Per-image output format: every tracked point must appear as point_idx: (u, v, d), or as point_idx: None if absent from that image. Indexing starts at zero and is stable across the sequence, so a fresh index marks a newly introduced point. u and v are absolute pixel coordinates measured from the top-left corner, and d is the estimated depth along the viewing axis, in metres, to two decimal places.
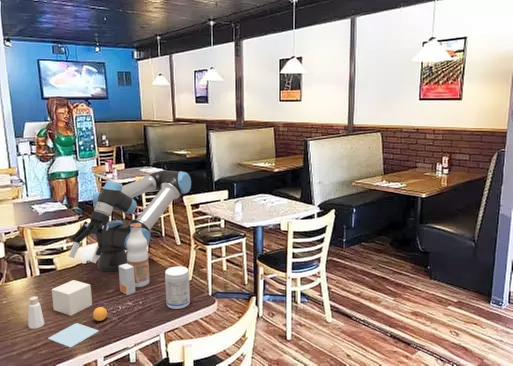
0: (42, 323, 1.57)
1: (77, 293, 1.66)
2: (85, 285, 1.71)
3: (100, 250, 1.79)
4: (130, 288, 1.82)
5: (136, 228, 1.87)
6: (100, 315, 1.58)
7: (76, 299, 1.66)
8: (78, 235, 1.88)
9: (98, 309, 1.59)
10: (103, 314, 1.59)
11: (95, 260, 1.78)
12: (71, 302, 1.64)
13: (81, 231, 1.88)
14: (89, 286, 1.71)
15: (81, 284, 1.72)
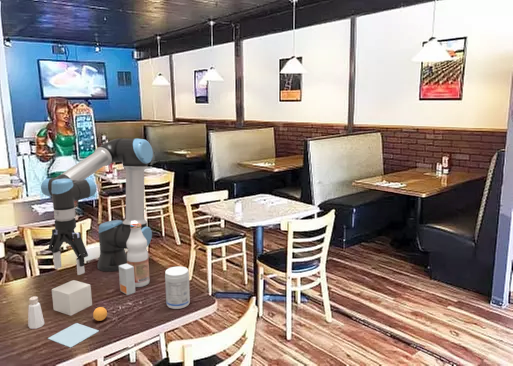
0: (42, 323, 1.57)
1: (77, 293, 1.66)
2: (85, 285, 1.71)
3: (82, 261, 1.63)
4: (130, 288, 1.82)
5: (136, 228, 1.87)
6: (100, 315, 1.58)
7: (76, 299, 1.66)
8: (53, 244, 1.70)
9: (98, 309, 1.59)
10: (103, 314, 1.59)
11: (82, 270, 1.65)
12: (71, 302, 1.64)
13: (54, 240, 1.69)
14: (89, 286, 1.71)
15: (81, 284, 1.72)
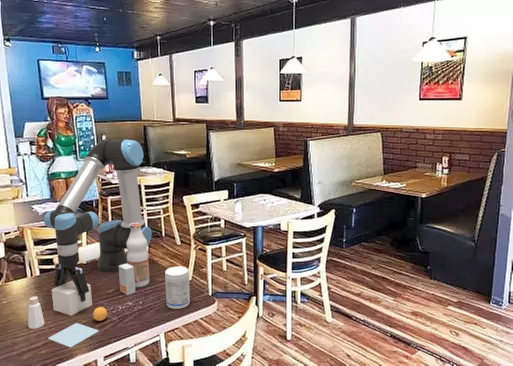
0: (42, 323, 1.57)
1: (77, 293, 1.66)
2: None
3: (83, 296, 1.67)
4: (130, 288, 1.82)
5: (136, 228, 1.87)
6: (100, 315, 1.58)
7: (76, 299, 1.66)
8: (59, 279, 1.72)
9: (98, 309, 1.59)
10: (103, 314, 1.59)
11: (83, 305, 1.69)
12: (71, 302, 1.64)
13: (59, 274, 1.71)
14: (89, 286, 1.71)
15: None
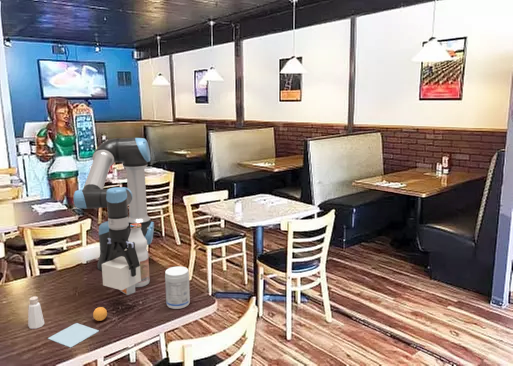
0: (42, 323, 1.57)
1: (128, 267, 1.64)
2: None
3: (134, 271, 1.65)
4: (130, 288, 1.82)
5: (136, 228, 1.87)
6: (100, 315, 1.58)
7: (127, 274, 1.64)
8: (107, 254, 1.70)
9: (98, 309, 1.59)
10: (103, 314, 1.59)
11: (134, 280, 1.67)
12: (122, 276, 1.62)
13: (108, 250, 1.70)
14: None
15: None
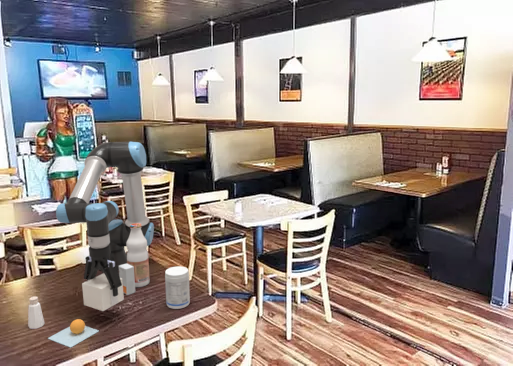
0: (42, 323, 1.57)
1: (109, 287, 1.57)
2: None
3: (116, 290, 1.58)
4: (130, 288, 1.82)
5: (136, 228, 1.87)
6: (84, 323, 1.52)
7: (108, 294, 1.57)
8: (88, 272, 1.63)
9: None
10: (83, 326, 1.51)
11: (116, 300, 1.60)
12: (103, 297, 1.55)
13: (89, 267, 1.62)
14: (121, 280, 1.62)
15: None
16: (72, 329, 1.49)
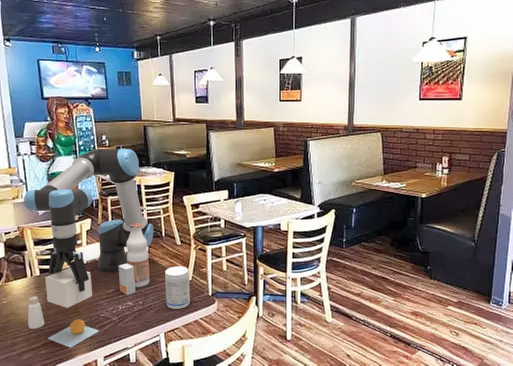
0: (42, 323, 1.57)
1: (75, 281, 1.43)
2: None
3: (82, 285, 1.44)
4: (130, 288, 1.82)
5: (136, 228, 1.87)
6: (83, 323, 1.52)
7: (74, 288, 1.43)
8: (54, 265, 1.49)
9: None
10: (83, 326, 1.51)
11: (82, 296, 1.45)
12: (68, 292, 1.41)
13: (54, 260, 1.48)
14: (89, 274, 1.48)
15: None
16: (72, 329, 1.49)
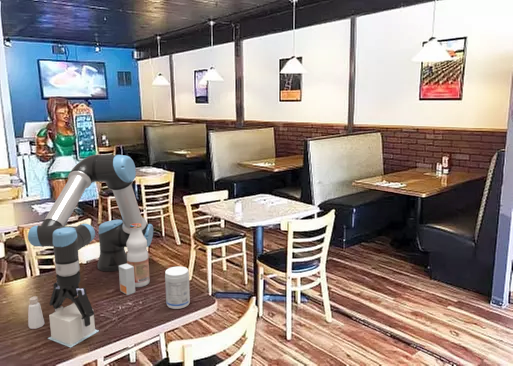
0: (42, 323, 1.57)
1: (78, 319, 1.46)
2: None
3: (88, 320, 1.45)
4: (130, 288, 1.82)
5: (136, 228, 1.87)
6: None
7: (77, 326, 1.45)
8: (55, 298, 1.52)
9: None
10: None
11: (88, 330, 1.47)
12: (71, 330, 1.43)
13: (56, 294, 1.51)
14: None
15: None
16: None
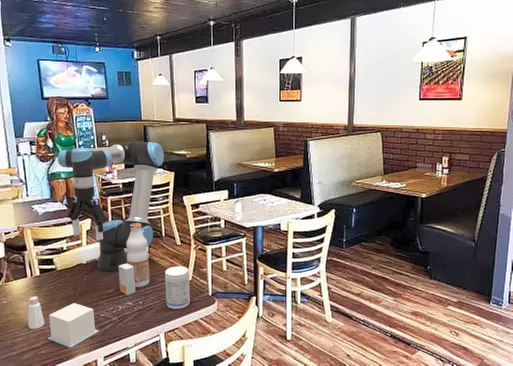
0: (42, 323, 1.57)
1: (78, 319, 1.46)
2: (87, 310, 1.50)
3: (101, 227, 1.70)
4: (130, 288, 1.82)
5: (136, 228, 1.87)
6: None
7: (77, 326, 1.45)
8: (72, 212, 1.77)
9: None
10: None
11: (101, 236, 1.72)
12: (71, 330, 1.43)
13: (73, 207, 1.76)
14: (92, 311, 1.51)
15: (83, 308, 1.51)
16: None
